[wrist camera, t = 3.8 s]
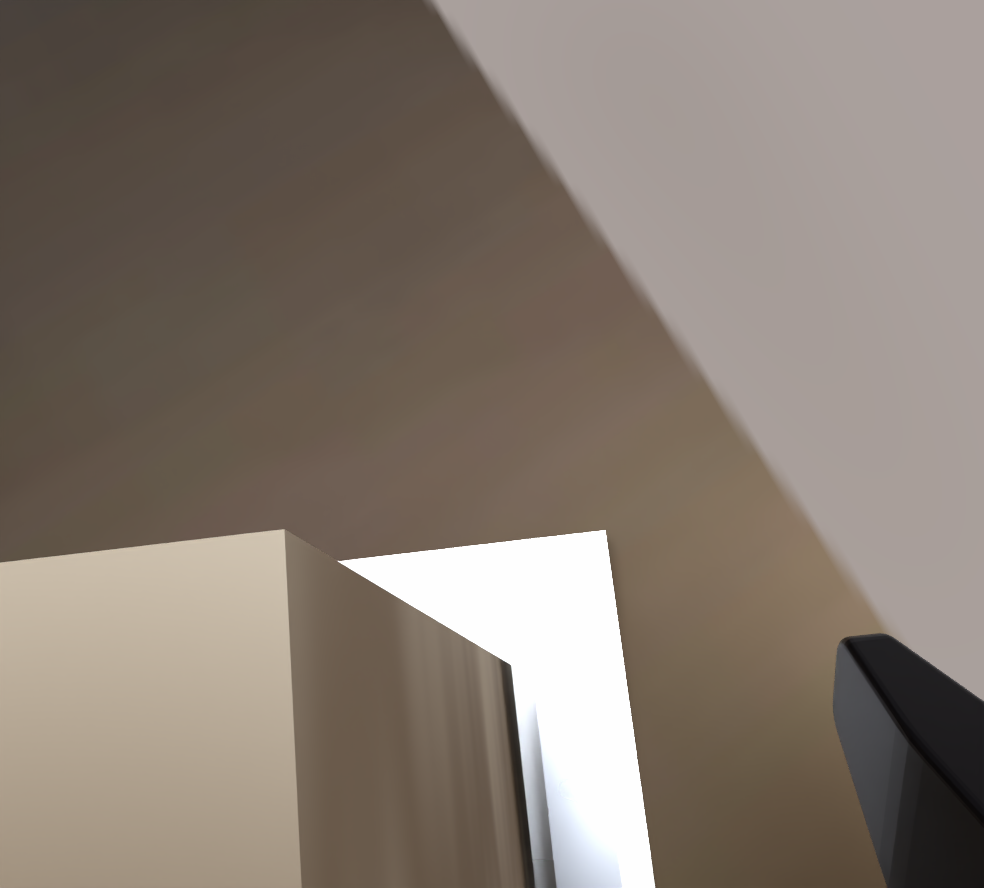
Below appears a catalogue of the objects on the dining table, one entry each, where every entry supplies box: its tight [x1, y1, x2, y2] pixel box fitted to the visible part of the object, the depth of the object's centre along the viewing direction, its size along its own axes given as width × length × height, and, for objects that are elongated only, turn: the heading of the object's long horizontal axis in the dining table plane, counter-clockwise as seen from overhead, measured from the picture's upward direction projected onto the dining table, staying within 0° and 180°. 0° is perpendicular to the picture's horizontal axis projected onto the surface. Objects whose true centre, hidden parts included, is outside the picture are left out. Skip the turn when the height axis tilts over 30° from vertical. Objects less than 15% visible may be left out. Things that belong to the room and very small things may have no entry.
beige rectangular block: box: [0, 529, 535, 888], centre depth 8 cm, size 4×2×13 cm, turn 6°
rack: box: [338, 531, 655, 888], centre depth 14 cm, size 8×6×4 cm
